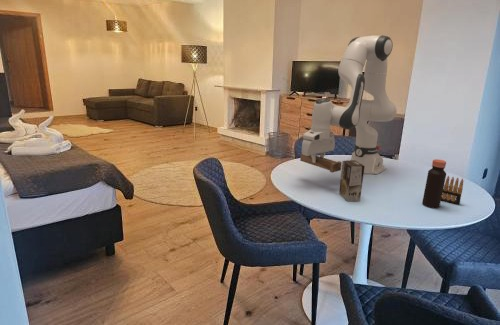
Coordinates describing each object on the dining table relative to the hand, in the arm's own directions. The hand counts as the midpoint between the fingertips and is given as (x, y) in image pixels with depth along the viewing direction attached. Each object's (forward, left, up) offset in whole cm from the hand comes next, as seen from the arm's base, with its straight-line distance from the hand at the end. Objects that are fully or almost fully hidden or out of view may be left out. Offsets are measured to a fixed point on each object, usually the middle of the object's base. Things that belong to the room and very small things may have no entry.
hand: (317, 161), depth 164 cm
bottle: (-22, +46, -12) cm, 52 cm away
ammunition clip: (-32, +48, -12) cm, 59 cm away
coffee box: (0, +20, -12) cm, 23 cm away
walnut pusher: (0, 0, -2) cm, 2 cm away
